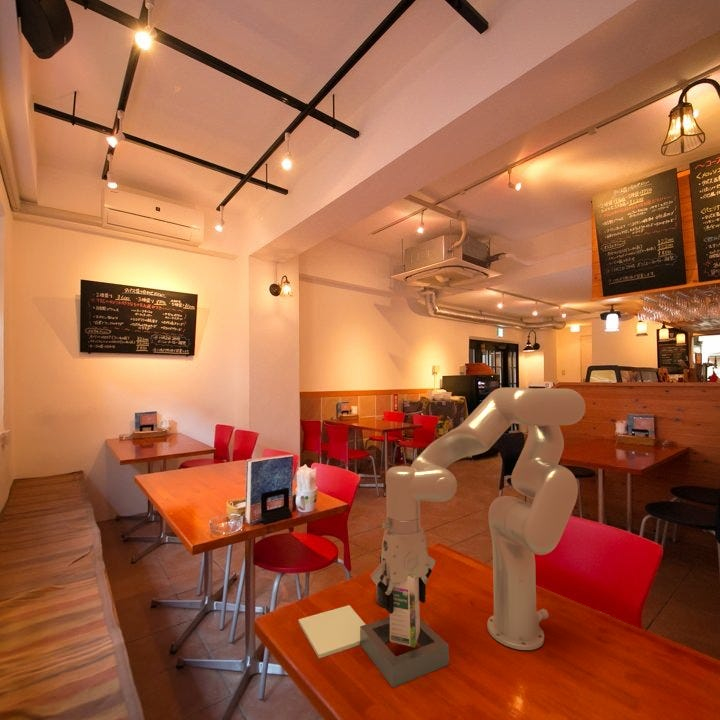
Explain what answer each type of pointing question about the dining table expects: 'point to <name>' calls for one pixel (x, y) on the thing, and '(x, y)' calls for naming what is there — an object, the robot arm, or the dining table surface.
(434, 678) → the dining table surface
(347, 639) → the pad
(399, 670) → the collar
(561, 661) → the dining table surface
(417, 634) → the syrup box
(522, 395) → the robot arm
